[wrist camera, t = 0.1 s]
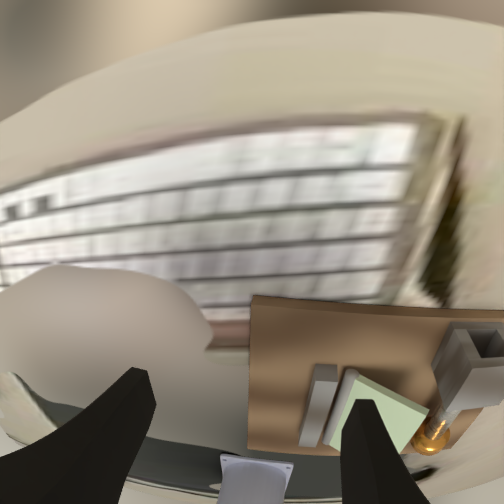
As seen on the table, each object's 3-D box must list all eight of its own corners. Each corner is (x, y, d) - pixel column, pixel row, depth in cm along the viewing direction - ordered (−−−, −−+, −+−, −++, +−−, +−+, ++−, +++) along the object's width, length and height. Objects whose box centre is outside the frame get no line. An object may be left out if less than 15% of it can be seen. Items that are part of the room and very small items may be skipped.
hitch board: (448, 441, 26) (457, 481, 21) (248, 440, 28) (239, 486, 24) (532, 310, 18) (563, 355, 13) (253, 295, 20) (237, 355, 15)
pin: (440, 422, 22) (447, 453, 19) (407, 425, 22) (412, 457, 19) (481, 358, 18) (496, 391, 15) (445, 359, 19) (458, 395, 16)
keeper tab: (386, 468, 21) (380, 476, 20) (325, 433, 25) (319, 441, 24) (430, 407, 17) (425, 418, 16) (349, 366, 20) (342, 374, 20)
